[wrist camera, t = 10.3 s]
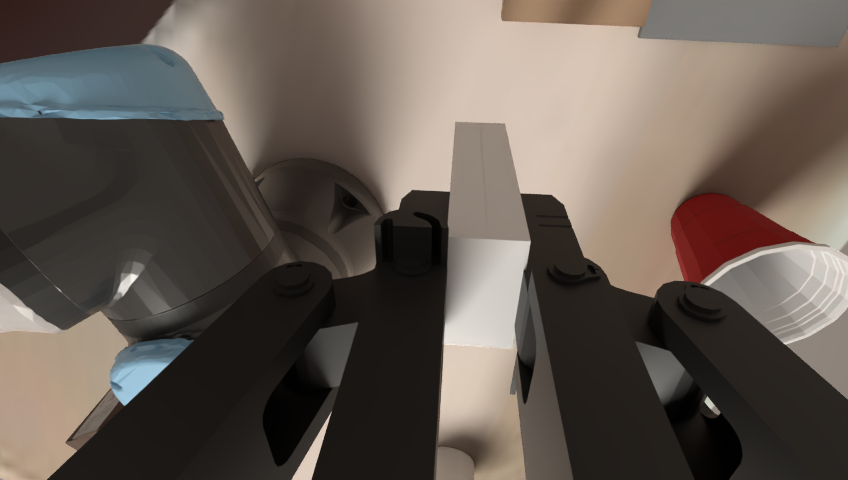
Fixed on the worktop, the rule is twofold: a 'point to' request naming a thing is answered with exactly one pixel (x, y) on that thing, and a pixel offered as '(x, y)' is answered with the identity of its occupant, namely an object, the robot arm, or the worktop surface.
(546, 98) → the worktop surface
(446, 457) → the cup
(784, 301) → the plastic cup
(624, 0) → the walnut deck
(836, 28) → the rubber mat
